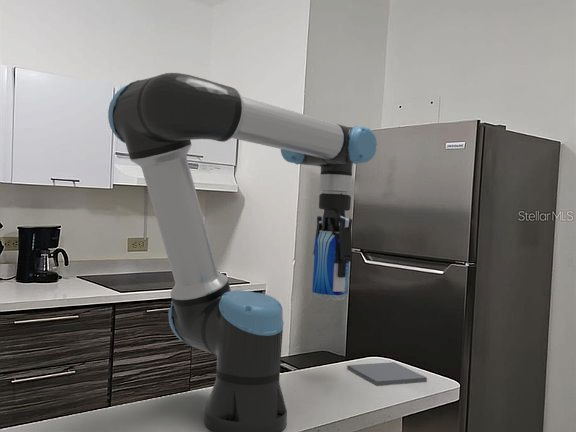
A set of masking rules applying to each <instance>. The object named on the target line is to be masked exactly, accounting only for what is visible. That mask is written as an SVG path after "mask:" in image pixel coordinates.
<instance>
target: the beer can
mask: <svg viewBox="0 0 576 432" xmlns="http://www.w3.org/2000/svg"><path fill="white" fill-rule="evenodd" d="M336 233H339V232H336ZM338 242H339V243H340V238H339V239H338ZM314 244H315V252H314V251H313V252H314V254H313V271H312V272H313V273H312V274H313V275H312V288H311V289H312V291H311V292H312V294H313V295H314V298H315V299H318V300H323V301H335V302H336V301H344V300H345V299H346V296H347V295H348V291H349V276H350V275H349V274H350V261H349V262H348V263H347V264H346V275H345V292H334V291H333V276H334V261H335V260H336V255H335V250H336V240H335V235H333V234H332V232H329V231H322V230H320V233H319V235H318V236H317V238H316V239H315V238H314ZM347 256H348V255H347Z"/></svg>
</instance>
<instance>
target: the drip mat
mask: <svg viewBox="0 0 576 432" xmlns="http://www.w3.org/2000/svg"><path fill="white" fill-rule="evenodd" d="M346 368H347V369H346V370H347V371H350V372H352V373H354V374H356V375H357V376H359V377H360V378H362V379H364V380H365V381H367V382H369V383H371V384H373V385H375V386H376V387H378V386H390V384H391V385H401V384H403V383H404V384H413V383H414V384H415V383H427V381H428V378H427V376H424V375H422V374H420V373H419V372H416V371H414V370H412V369H409V368H407V367H406V366H403V365H401V364H398V363H396V362H394V361H389V362H377V363H361V364H348V365H347V366H346Z"/></svg>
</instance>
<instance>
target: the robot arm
mask: <svg viewBox="0 0 576 432" xmlns="http://www.w3.org/2000/svg"><path fill="white" fill-rule="evenodd" d="M107 113H108V114H107V117H108V123H109V127H110V129H111V131H112V133H113V134H114V136H115V137H116V139H118V140H119V141H120V142H122V143H123V144H125V146H126V150H127V153H128V156H129V159H130V162H132V163H134V164H136V165H138V166H140V168H141V170H142V174H143V177H144V181H145V184H146V188H147V191H148V194H149V198H150V201H151V204H152V208H153V213H154V215H155V218H156V222H157V225H158V228H159V229H158V230H159V232H160V236H161V239H162V242H163V245H164V248H165V253H166V255H167V259H168V263H169V266H170V270H171V273H172V275H173V280H174V283H175V284H174V286H173V287H172V289H171V291H170V298H171V302H170V304H171V306H170V307H168V315H167V316H168V323H169V326H170V328H171V330H172V333H173V334H174V336H176V337H177V339H179V340H180V341H181V342H183V343H184V344H186V345H188V346H189V347H192V348H194V349H199V350H201V351H204V352H206V353H209V354H212V355H214V356H216V375H215V382H214V384H213V387H212V389H211V392H210V395H209V398H208V400H207V403H206V406H205V408H204V409H205V410H204V418H203V420H204V421H203V422H204V425H205V427H207V429H209V430H211V431H212V432H282V431H284V429H285V428H286V427H287V424H288V423H287V420H288V411H287V406H286V403H285V398H284V396H283V392H282V391H283V390H282V387H281V384H280V374H281V373H280V372H281V362H282V359H281V358H282V343H283V333H284V331H283V330H284V324H285V323H284V320H283V317H284V316H283V307H282V304H281V303H280V301H279V300H277V299H276V298H274V297H272V296H270V295H268V294H265V293H262V292H254V291H251V290H231V287H230V283H229V279H228V277H227V275H225V274H223V273H221V272H219V271H218V268H217V265H216V261H215V258H214V257H215V256H214V253H213V249H212V246H211V242H210V239H209V235H208V231H207V227H206V224H205V220H204V216H203V213H202V208H201V205H200V202H199V199H198V198H199V197H198V195H197V190H196V186H195V183H194V180H193V175H192V172H191V168H190V164H189V161H188V158H187V157H188V155H187V154H188V153H189V151H190V149H191V147H192V142H191V140H210V141H211V140H212V141H217V142H224V143H225V142H228V141H229V140H231V139H235V140H240V141H244V142H248V143H253V144H257V145H262V146H265V147H266V146H267V147H270V148H271V147H272V148H276V149H280V155H281V156H282V158H283V160H285V161H286V162H288V163H292V164H295V165H304V166H305V165H306V166H313V167H314V166H316V167H320V177H319V191H320V192H321V193H320V194H319V197H318V209H320V210H323V211H324V212H323V215H322V216H321V215H318V216H317V217H316V231H315V238H314V240H315V239H316V238H317V236H318V235H319V233H320V230H322V231H329V232H332V234H333V235H335V240H336V250H335V255H336V260H335V261H334V276H333V291H334V292H345V275H346V264H347V263H348V262H349V263H350V262H352V261H353V251H352V249H353V244H352V225H353V224H352V222H353V219H352V218H348V217H346V213H345V212H346V211H350V210H351V201H352V197H351V195H350V193H351V192H352V185H353V181H352V177H353V165H359V164H363V163H368V162H370V161H372V159H373V158H375V157H374V156H375V155H376V152H377V145H378V144H377V143H378V141H377V138H376V137H377V136H376V135H375V133H374V131H373V130H372V129H371V128H370V127H367V126H358V125H356V126H352V127H351V126H347V125H342V124H339V123H334V122H331V121H328V120H325V119H321V118H318V117H314V116H312V115H311V116H310V115H306V114H303V113H300V112H297V111H294V110H291V109H290V110H289V109H286V108H283V107H280V106H275V105H272V104H269V103H265V102H262V101H258V100H257V99H256V100H255V99H253V98H249V97H246V96H242V95H241V93H240V91H239V90H238V89H236V88H235V87H232V86H229V85H225V84H223V83H218V82H215V81H212V80H209V79H206V78H202V77H199V76H195V75H191V74H185V73H180V72H168V73H167V72H166V73H162V74H159V75H156V76H152V77H148V78H144V79H137V80H135V81H131V82H130V83H129V84H127V85H124V86H122V87H120V89H119V90H117V91H116V93H115V94H114V95H113V97H112V99H111V101H110V102H109V107H108V112H107ZM336 232H339V233H336ZM339 238H340V243H339V242H338V239H339ZM314 252H315V243H314V245H313V253H312V255H314ZM347 255H348V256H347Z"/></svg>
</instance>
